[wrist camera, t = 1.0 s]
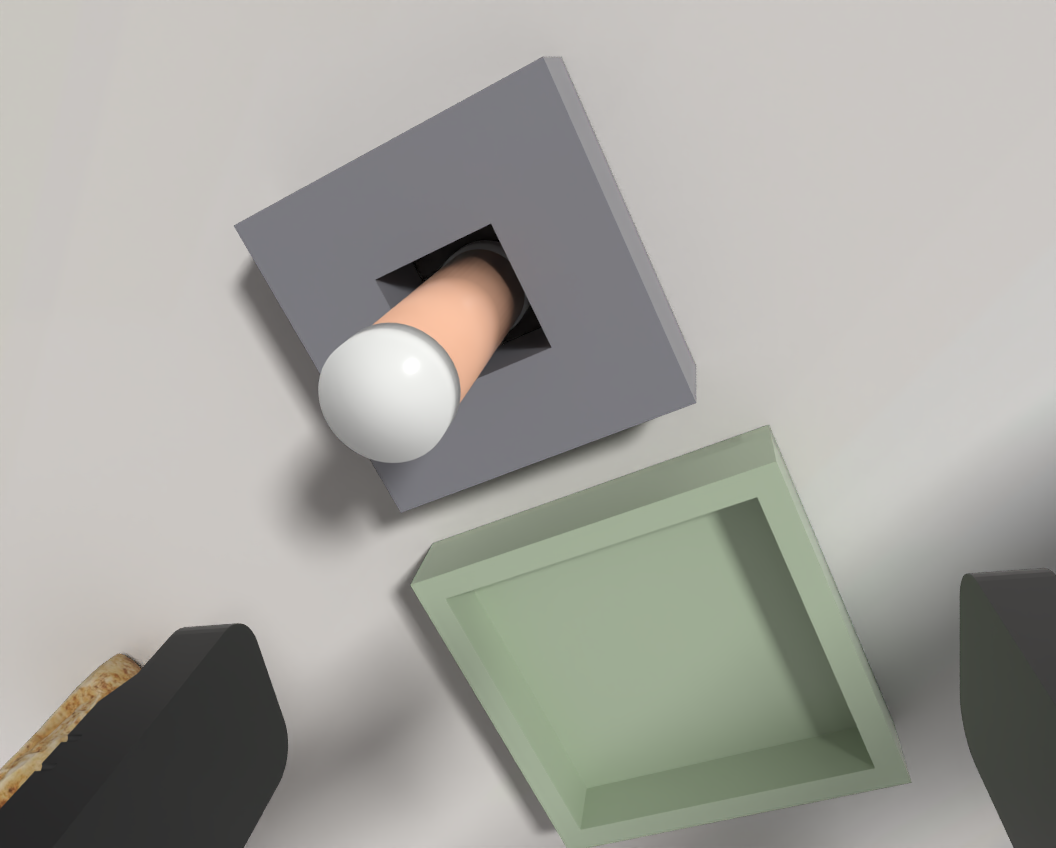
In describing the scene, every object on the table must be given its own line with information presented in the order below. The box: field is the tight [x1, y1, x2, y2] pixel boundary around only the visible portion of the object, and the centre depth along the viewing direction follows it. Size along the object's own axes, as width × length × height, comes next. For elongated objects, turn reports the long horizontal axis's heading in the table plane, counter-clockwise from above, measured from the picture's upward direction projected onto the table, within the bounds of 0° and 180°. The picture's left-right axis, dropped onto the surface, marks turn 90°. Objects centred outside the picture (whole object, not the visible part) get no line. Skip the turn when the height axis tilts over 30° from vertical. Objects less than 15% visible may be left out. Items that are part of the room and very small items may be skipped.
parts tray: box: [411, 425, 912, 848], centre depth 33 cm, size 14×14×3 cm
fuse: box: [318, 240, 530, 463], centre depth 25 cm, size 3×3×11 cm
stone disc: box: [0, 654, 141, 808], centre depth 37 cm, size 10×4×10 cm, turn 133°
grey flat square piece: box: [234, 57, 696, 513], centre depth 28 cm, size 11×11×4 cm
